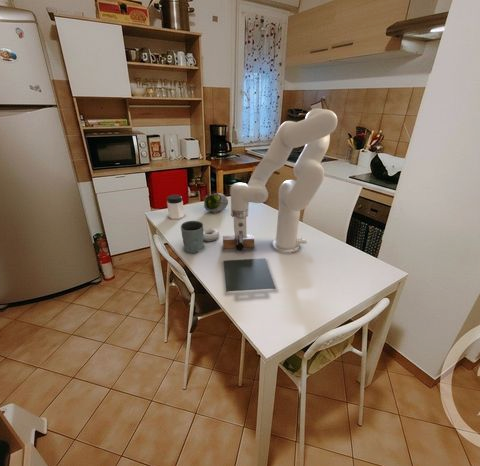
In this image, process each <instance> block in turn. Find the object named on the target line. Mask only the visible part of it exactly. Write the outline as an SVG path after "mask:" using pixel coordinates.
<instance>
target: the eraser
mask: <svg viewBox="0 0 480 466" xmlns="http://www.w3.org/2000/svg"><path fill="white" fill-rule="evenodd" d="M246 235H247V238H246V239H245V238H244V237H243V250H245V249H255V237H254V234H246ZM238 237H239V236H238ZM238 241H239V239H238ZM236 243H237V239H236V237H235V235H223V236H222V247H223V250H236Z"/></svg>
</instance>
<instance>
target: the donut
mask: <svg viewBox="0 0 480 466" xmlns="http://www.w3.org/2000/svg"><path fill="white" fill-rule="evenodd" d="M219 236H220V233H219V231H218V230H217V229H215V228H211V227H210V228H203V242H214V241H216V240H217V239H218V238H219Z"/></svg>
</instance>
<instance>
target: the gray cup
mask: <svg viewBox="0 0 480 466" xmlns="http://www.w3.org/2000/svg"><path fill="white" fill-rule="evenodd" d="M203 229H204V223H203V222H202V221H199V220H187V221H185V222H183V223H181V225H180V231H181V238H182V243H183V250H184V251H185V252H186V253H188V254H196V253H198V252H199V250H200V251H201V249H203V247H204V240H203Z"/></svg>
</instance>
